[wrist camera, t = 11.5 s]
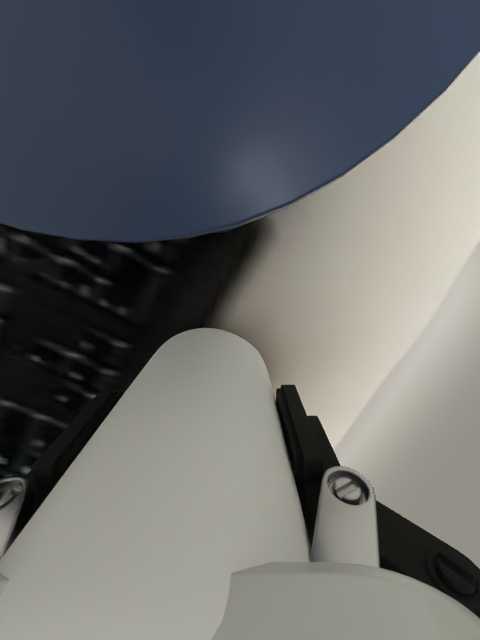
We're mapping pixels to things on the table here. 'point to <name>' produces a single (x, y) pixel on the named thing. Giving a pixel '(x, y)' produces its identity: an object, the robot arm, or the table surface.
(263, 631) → the robot arm
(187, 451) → the can
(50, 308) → the table surface
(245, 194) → the pot lid
